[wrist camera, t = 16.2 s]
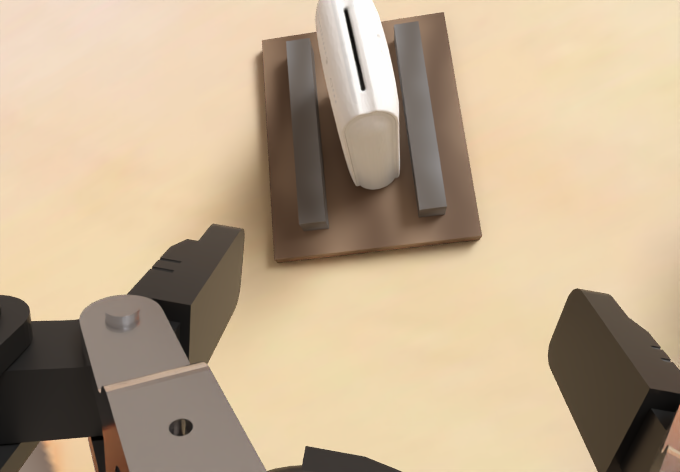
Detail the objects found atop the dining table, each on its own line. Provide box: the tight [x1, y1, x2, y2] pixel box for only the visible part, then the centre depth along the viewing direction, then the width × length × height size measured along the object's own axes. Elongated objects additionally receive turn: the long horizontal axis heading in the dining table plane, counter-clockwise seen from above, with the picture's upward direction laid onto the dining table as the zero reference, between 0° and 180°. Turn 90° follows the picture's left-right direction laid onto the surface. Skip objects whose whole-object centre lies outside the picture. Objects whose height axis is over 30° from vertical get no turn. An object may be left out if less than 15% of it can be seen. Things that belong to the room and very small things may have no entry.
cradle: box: [262, 12, 482, 263], centre depth 41 cm, size 16×20×3 cm
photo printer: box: [316, 0, 400, 190], centre depth 35 cm, size 10×4×12 cm, turn 10°
